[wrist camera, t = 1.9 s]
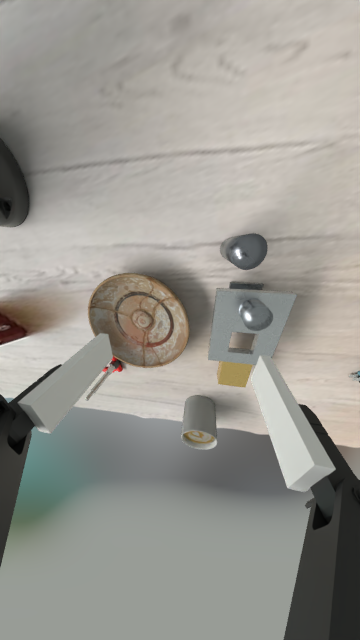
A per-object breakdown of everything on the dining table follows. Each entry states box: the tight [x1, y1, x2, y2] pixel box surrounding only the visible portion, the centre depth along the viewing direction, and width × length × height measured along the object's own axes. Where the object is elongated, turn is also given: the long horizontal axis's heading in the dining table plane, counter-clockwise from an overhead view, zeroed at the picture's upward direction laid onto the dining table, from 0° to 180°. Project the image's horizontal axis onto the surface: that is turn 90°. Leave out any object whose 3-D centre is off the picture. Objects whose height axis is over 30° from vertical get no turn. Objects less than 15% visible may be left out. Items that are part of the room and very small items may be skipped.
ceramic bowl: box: [88, 273, 189, 368], centre depth 34 cm, size 23×24×5 cm
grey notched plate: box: [208, 282, 297, 387], centre depth 29 cm, size 22×12×10 cm, turn 179°
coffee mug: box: [181, 396, 217, 449], centre depth 45 cm, size 13×10×10 cm
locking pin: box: [220, 234, 267, 270], centre depth 21 cm, size 3×3×13 cm
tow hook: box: [85, 356, 123, 401], centre depth 40 cm, size 8×13×9 cm
